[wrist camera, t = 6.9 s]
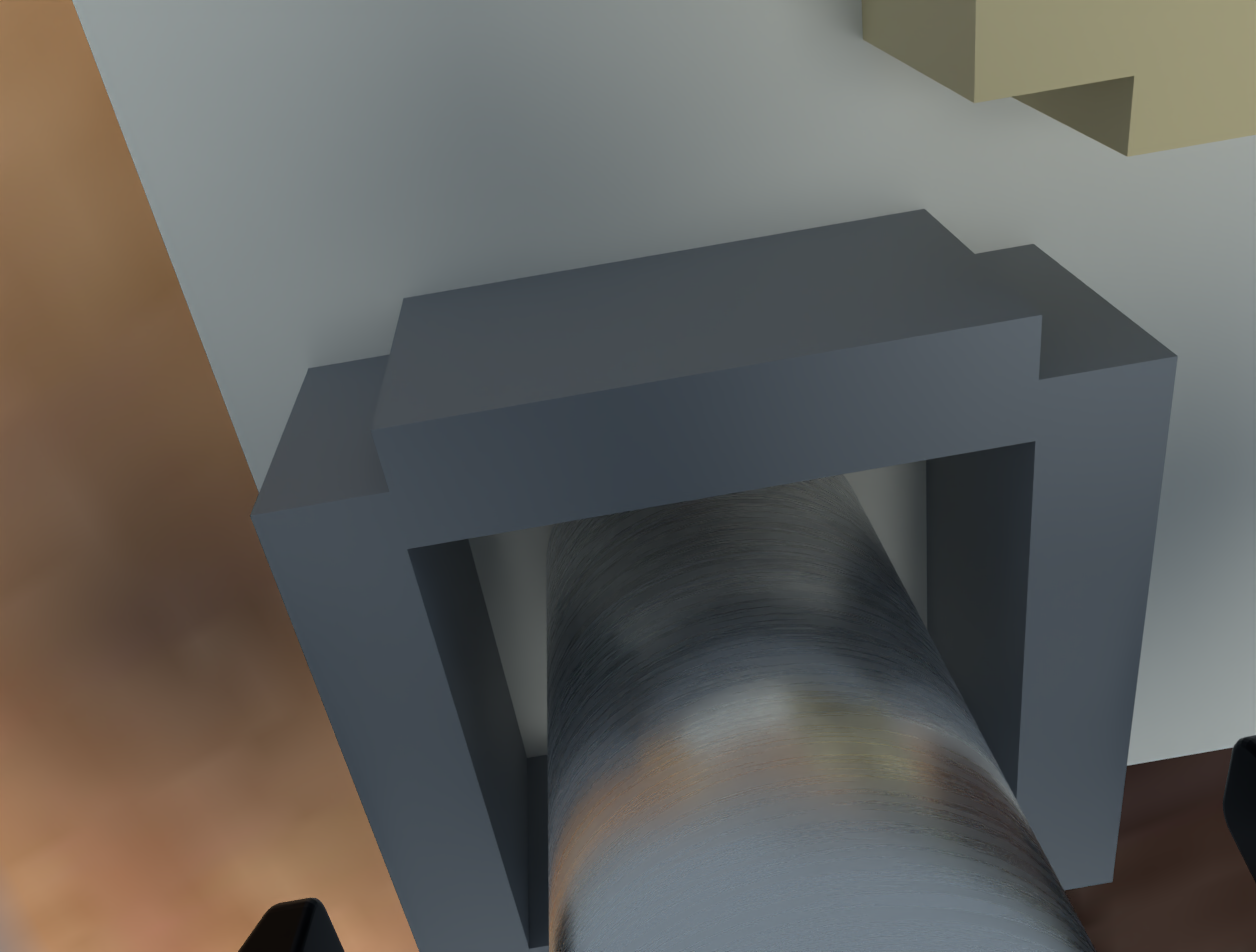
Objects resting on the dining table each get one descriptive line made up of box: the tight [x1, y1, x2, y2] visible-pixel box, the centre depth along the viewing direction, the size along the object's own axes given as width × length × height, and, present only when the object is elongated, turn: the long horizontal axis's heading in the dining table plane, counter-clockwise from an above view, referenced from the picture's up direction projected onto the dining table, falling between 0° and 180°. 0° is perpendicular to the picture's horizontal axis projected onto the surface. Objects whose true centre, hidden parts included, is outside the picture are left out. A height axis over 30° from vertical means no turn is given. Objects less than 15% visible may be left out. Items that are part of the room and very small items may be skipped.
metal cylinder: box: [546, 474, 1096, 952], centre depth 10 cm, size 4×4×9 cm
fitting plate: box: [72, 0, 1256, 952], centre depth 11 cm, size 16×14×4 cm
